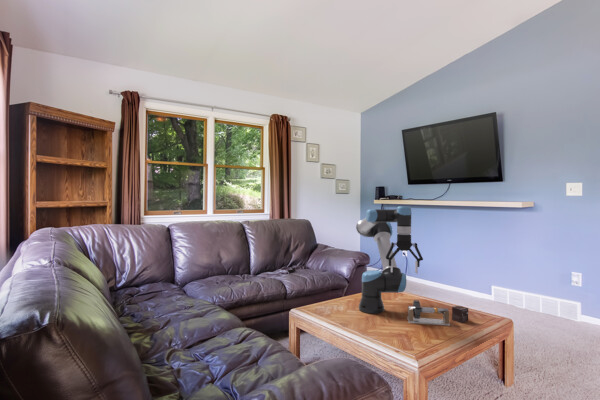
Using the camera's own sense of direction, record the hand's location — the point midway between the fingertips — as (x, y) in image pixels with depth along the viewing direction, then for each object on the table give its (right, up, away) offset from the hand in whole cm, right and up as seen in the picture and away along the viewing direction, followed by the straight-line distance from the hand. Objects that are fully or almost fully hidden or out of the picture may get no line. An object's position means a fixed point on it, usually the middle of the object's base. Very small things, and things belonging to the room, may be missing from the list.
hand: (403, 272), depth 185 cm
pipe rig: (+12, -27, -3) cm, 29 cm away
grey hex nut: (+6, -25, -2) cm, 26 cm away
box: (+31, -27, 0) cm, 41 cm away
